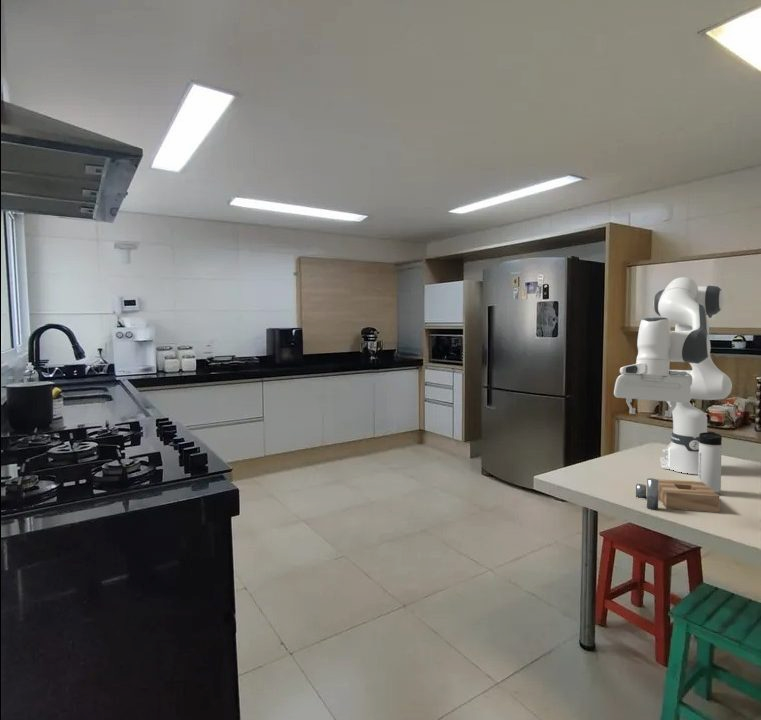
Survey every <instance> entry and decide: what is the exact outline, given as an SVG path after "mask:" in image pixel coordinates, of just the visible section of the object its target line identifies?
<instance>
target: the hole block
mask: <svg viewBox="0 0 761 720" xmlns="http://www.w3.org/2000/svg"><path fill="white" fill-rule="evenodd" d="M656 479H657V480H659V482H658V498H659V499H658V501H660V503H661V502H662V503H663V504H662V503H661V504H662V505H663V506H664V508H665V507H666V509H668V508H672V509H671V510H680V509H685V510H684V511H693V510H696V511H695V512H705V511H709V512H708V513H718V512H719V513H720V494H719V495H717V494H716V493H715V492H714V491H713V490H711V489H710V488H709V487H708V486H707V485H705V484H704V483H703V482H698V481H697V480H695V481H693V480H678V479H677V480H676V479H664V478H663V479H662V478H656ZM686 509H687V510H686Z"/></svg>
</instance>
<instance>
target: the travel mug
mask: <svg viewBox="0 0 761 720" xmlns="http://www.w3.org/2000/svg"><path fill="white" fill-rule="evenodd" d="M722 437H723V436H722V435H721V434H719V433H716V432H715V431H707V432H705V433H700V434H699V469H698V474H697V476H698V479H697V482H703V483H704V484H705V485H707V486H708V487H709V488H710V489H711V490H713V491H714V492H715V493H716V494H717V495H719V496H720V495H721V492H722V490H721V487H722V486H721V485H722V481H721V480H722V451H723V450H722V449H723V448H722V445H723V443H722V439H723V438H722Z"/></svg>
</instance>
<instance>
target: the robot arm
mask: <svg viewBox="0 0 761 720" xmlns="http://www.w3.org/2000/svg"><path fill="white" fill-rule="evenodd" d="M652 302H653V304H652V306H653V309H654V312H655V314H657V316H658V317H646V318H643V319H641V320H640V323H639V328H638V333H637V340H636V341H637V342H636V343H637V344H636V346H637V355H636V360H635V363H632V364H629V365H624V366H622V367H620V368H619V374H620V375H618V376H617V378H616V379H615V383H614V389H613V395H614V397H615V398H617V399H618V398H619V399H620V398H621V399H625V403H626V404H627V406H628V408H629V414H630V415H636V410H637V409H636V407H633V406H632V404H631V403H632V402H633V400H646V401H659V402H666V403H667V404H668V406H669V409H668V410H664V413H665V414H664V417H665V418H672V432H671V436H670V437H671V438H670V443H668V445H667V446H666V448H665V449H664V448H663V449H662V451H661V453H662V455H663V456H660V457H659V462H661V463H660V466H661V468H662V469H664V470H669V469H670V470H671V471H673V470H674V472H678V473H681V472H682V474H687V473H688V474H689V475H698V469H699V434H700V433H705V432H708V417H707V414H706V413H705V412H704V411H703V410H701V409H699V408H697V407H695V406H694V405H693V404H692V403H691V402H690V401H692V399H693V400H703V401H712V400H713V401H714V400H715V401H716V400H724V399H726V398H727V397H728V396H729V395H730V394H731V392H732V389H733V383H732V380H731V378H730V377H729V376H728V374H726V373H725V372H723V371H722V370H720V368H718V367H717V366H716V365H715V363H714V361H713V359H712V356H711V348H712V347H711V346H712V345H711V341H710V328H709V327H710V325H709V319H711V318H713V316H714V315H717V314H718V313H719V312H721V310H722V308H723V306H724V304H725V295H724V293H723V291H722V289H721V288H720V286H715V285H707V286H705V285H702V286H701V285H698V284H697V282H696V281H695V280H693V279H692V278H689V277H685V276H684V277H683V276H681V277H677V278H674V279H673V280H672V281H670V282H669V284H667V286H666V287H665V288H664V289H662V290H659V291H658V292H657V293H655V295H654V299H653V301H652ZM659 316H660V317H659ZM671 324H675V325H674V330H672V329H671ZM671 362H672V363H674V362H675V363H676V362H677V363H679V362H680V363H687V364H689V365H690V366H691V370H689V369H688V370H687V369H684V370H683V369H670V363H671Z"/></svg>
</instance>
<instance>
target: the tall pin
mask: <svg viewBox="0 0 761 720" xmlns="http://www.w3.org/2000/svg"><path fill="white" fill-rule="evenodd" d="M657 479H658V478H652V477H648V478H647V481H646V484H647V485H646V508H647V509H648V510H650V509H651V511H658V510H659V499H658V482H659V480H657Z"/></svg>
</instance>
